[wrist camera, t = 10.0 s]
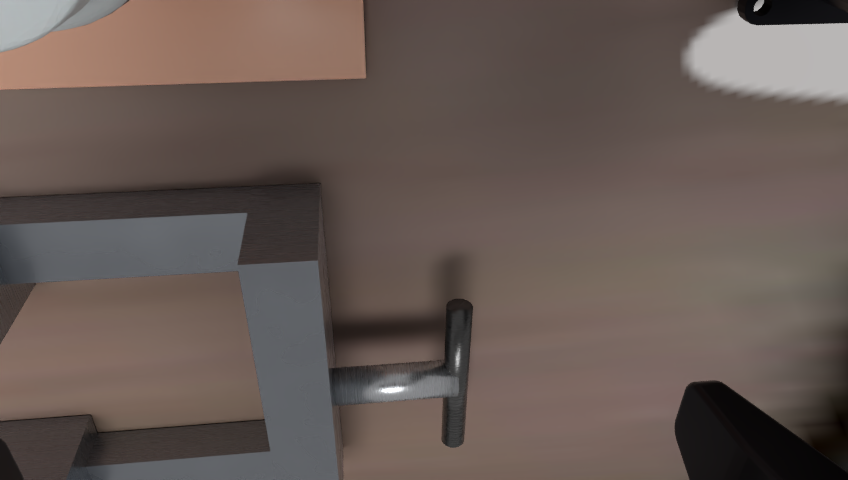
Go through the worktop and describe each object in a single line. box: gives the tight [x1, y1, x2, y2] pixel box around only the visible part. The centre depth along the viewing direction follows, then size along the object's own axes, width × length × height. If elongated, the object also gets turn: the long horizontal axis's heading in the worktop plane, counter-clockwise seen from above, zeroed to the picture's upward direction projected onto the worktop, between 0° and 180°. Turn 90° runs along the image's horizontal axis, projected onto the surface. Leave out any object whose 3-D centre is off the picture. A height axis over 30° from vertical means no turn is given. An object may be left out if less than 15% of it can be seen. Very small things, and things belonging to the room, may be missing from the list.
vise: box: [0, 183, 473, 480], centre depth 22 cm, size 17×12×4 cm
